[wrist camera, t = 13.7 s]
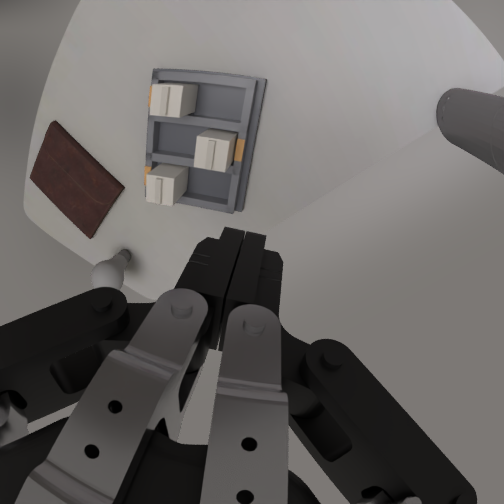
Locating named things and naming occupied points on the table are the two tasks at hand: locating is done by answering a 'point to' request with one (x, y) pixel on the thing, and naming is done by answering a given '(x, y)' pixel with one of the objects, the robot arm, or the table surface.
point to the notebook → (74, 180)
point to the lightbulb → (110, 271)
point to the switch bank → (205, 116)
